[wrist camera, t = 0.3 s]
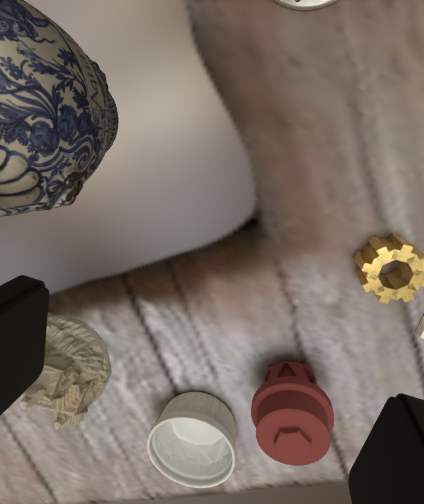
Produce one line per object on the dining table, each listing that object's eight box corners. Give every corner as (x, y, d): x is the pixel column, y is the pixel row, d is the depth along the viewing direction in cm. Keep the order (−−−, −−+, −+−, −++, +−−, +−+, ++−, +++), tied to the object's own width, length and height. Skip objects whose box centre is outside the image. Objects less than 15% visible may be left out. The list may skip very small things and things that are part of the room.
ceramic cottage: (26, 299, 54) (-58, 363, 41) (122, 334, 54) (70, 412, 40) (20, 369, 61) (-54, 444, 47) (105, 401, 60) (56, 487, 47)
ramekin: (200, 369, 53) (188, 402, 46) (258, 426, 54) (255, 465, 48) (146, 409, 57) (129, 444, 51) (201, 460, 59) (191, 500, 52)
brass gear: (365, 226, 41) (374, 237, 37) (426, 241, 40) (442, 254, 36) (345, 279, 44) (352, 294, 40) (402, 294, 43) (415, 311, 39)
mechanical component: (311, 411, 51) (247, 388, 52) (337, 359, 48) (267, 335, 48) (319, 491, 40) (237, 460, 41) (354, 430, 36) (263, 397, 37)
